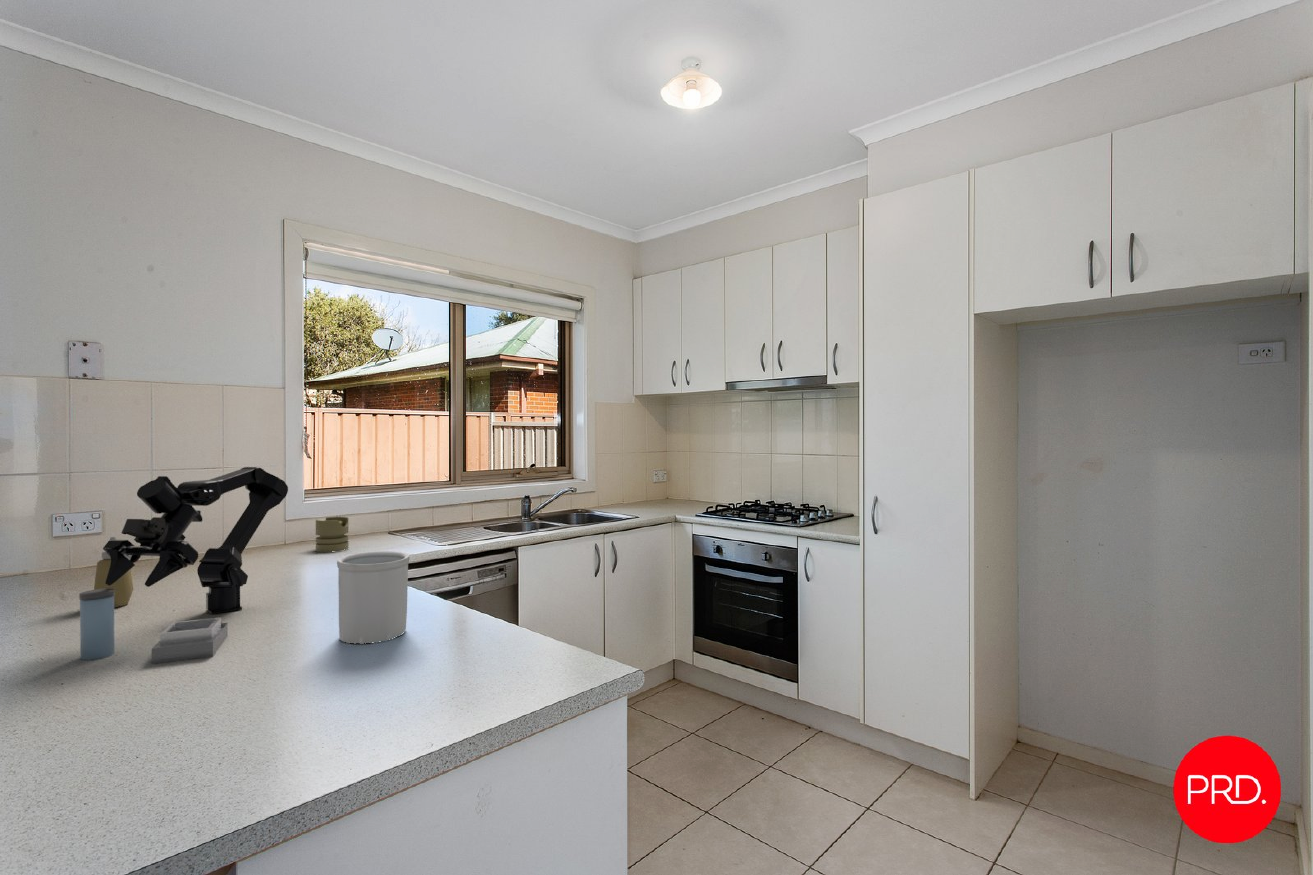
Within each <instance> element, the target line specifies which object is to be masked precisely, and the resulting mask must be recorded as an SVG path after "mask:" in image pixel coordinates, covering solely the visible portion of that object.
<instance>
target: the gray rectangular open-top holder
mask: <svg viewBox="0 0 1313 875" xmlns="http://www.w3.org/2000/svg"><path fill="white" fill-rule="evenodd" d="M228 626H229V625H228V622H222V617H213V618H212V617H211V618H202V619H191V620H182V621H173V622H171V623H170V624H169V625H168V626H167V627H166V628H165V629H164V630H162V632H161V633H160V634H159V641H158V642H157V643H156V644H155V645H153V646H152V648H151V664H152V665H154V664H155V665H156V664H161V663H163V662H164V663H170V662H171V661H172V662H178V660H180V661H185V659H188V660H194V659H195V660H196V659H203V658H210V657H211V658H212V657H214V656H215V654H216V653H217V651H218V650H219V649H220V647H221V646H222V645H223V643H224V642H225V641H226V639H227V638H228V637H229V636H228V634H229V633H228V632H229V629H228ZM164 663H163V664H164Z"/></svg>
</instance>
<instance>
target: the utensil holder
mask: <svg viewBox="0 0 1313 875" xmlns="http://www.w3.org/2000/svg"><path fill="white" fill-rule="evenodd" d="M409 563H410V554H409V553H406V552H402V551H397V550H396V551H395V550H393V551H392V550H382V551H381V550H377V551H364V552H356V553H350V554H347V555H346V554H345V555H344V556H340V557H339V558H337V560H336V565H337V568H338V575H337V576H338V579H337V580H338V584H337V585H338V632H339V633H338V634H339V640H340V641H341V642H343V643H345V642H346V643H345V644H350V643H354V644H353V645H357V644H356V643H360V644H359V645H367V644H366V643H372V642H379V641H385V642H387V641H386V640H389V639H392V638H394V637H396V636H399V635H401V634H402V633H403V632H405V633H406V631H405V630H406V629H407V617H408V615H407V614H408V585H409V584H408V581H409V579H408V577H409ZM392 640H393V639H392ZM389 641H390V640H389ZM364 643H365V644H364Z"/></svg>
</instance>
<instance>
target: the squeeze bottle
mask: <svg viewBox="0 0 1313 875" xmlns="http://www.w3.org/2000/svg"><path fill="white" fill-rule="evenodd" d="M110 540H118V538H117V536H111V537H109V541H110ZM110 564H111V558H110V556H109V555H108V554H107V553H106V551H105V550H103V551H102V552H101V559H100V560H99V561H97V562H96V567H95V577H94V587H93V590H96V589H108V588H110V589H115V595H114V608H118V607H119V606H120V607H124V606H125V605H128V604H129V602H130V599H131V597H132V595H133V592H134V583H133V575H132V568H131V569H130V570H129V571H128V572H126V573H125V574H124V575H123V576H122V577H121V578H119V579H118V580H117V581H116V582H115V583H113V584H112V585H110V586H108V585H106V584H105V582H106V578H107V575H108V572H109V568H110ZM120 607H119V608H120Z"/></svg>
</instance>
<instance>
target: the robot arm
mask: <svg viewBox="0 0 1313 875" xmlns="http://www.w3.org/2000/svg"><path fill="white" fill-rule="evenodd" d="M242 487H245V489H246V490H247V491H248V499H249V503H248V505H247V506H246V508H245V509H244V510H243V513H242V514H241V515H240V517H239V518H238V520H237V522H236V523H235V524H234V526H233V527H232V529H231V530H230V532H229V534H228V535H227V537H226V538H225V539H224V541H223V543H222V544H221V545H220V546H219V547H215V548H213V547H211V548H210V547H209V548H208V549H207V550H206V551H205V554H204V555H203V556H202V558H201V559H199V552H198V550H196V549H195V548H194V546H192V545H191V544H190V543H189V541H187V540H185V539H186V536H185V534H184V533H185V532H186V531H187V529H188V528H189V526H191V524H192V523H194V522H196V523H201V522H203V516H202V513H201V510H198V509H196V508H195V507H207V506H210V505H212V504H213V503H215V502H217V501H219V500H220V498H221V497H222V495H224V494H226V493H229V492H231V491H234V490H236V489H239V488H242ZM288 492H289V487H288V484H287V483H286V482H285V481H284V480H283V479H281V478H279V477H278V476H276V475H274V474H271V473H269V472H267V471H265V470H264V468H262V467H259V466H244V467H242V468H240V469H238V470H235V471H232V472H229V473H225V474H222V475H219V476H217V477H214V478H211V479H205V480H204V479H202V480H192V481H191V480H190V481H184V482H181V483H179V485H177V486H175V485H174V484H173V482H172V481H171V479H170V477H168V476H167V475H166V476H165V475H159V476H157V477H156V479H153V480H151V481H149V482H146V483H145V484H144V485H142V486H140V487H139V488H138V490H137V492H136V495H137V496H136V497H138V499H140V500H141V501H142V502H143V503H144V504H145V505H146V506H147V507H148V508H149V509H150V510H151V511H152V512H153V513H155V514H159V515H160V514H162V515H161V516H159V517H156V516H155V517H154V516H153V517H152V518H151V519H144V518H127V519H126V520H125V523H124V526H123V528H122V530H121V534H123V535H128V536H131V537H134V539H133V540H134V541H135V542H136V543H138V544H139V545H135V544H133V543H132V542H131V541H130V540H128V539H117V540H110V539H109V540H107V542H106V544H105V545H103V547H102V550H103V551H106V553H107V554H108V555H109V556H110V558H111V564H110V568H109V572H108V575H107V578H106V582H105V584H106V585H108V586H110V585H112V584H113V583H115V582H116V581H117V580H118V579H119V578H121V577H122V576H123V575H124V574H125V573H126V572H128V571H129V570H130V569H131V570H132V568H134V567H135V565H136V564H135V563H136V562H138V561H139V559H140V558H141V557H142V556H146V557H148V556H150V557H159V558H158V562H157V563H156V565H155V566H154V568H153V569H152V570H151V571H150V574H149V575H148V576H147V579H146V581H144V586H145V587H147V588H149V587H151V586H154V584H156V583H158V582H159V581H161V580H163V579H165V578H167V577H169V576H170V575H173V574H174V573H176V572H177V571H180V570H182V569H185V568H187V567H188V566H193V565H194V564H195V563H196V562H197V560H198V559H199V561H198V562H199V565H198V566H197V568H196V571H197V575H198V578H199V582H200V585H201V587H202V588H208V592H206V593H205V609H206V610H207V611H208V612H209V613H210V614H211V615H215V614H222V613H228V612H232V611H233V612H234V611H240V610H243V607H242V606H241V587H244V585H247V582H248V578H249V576H248V574H247V573H246V572H245V571H244V570H243V569H242V565H243V558H242V554H243V552H244V551H245V549H246V547H247V545H248V544H249V542H250V541H251V539H252V537H253V536H254V534H255V532H256V531H257V530H258V528H259V526H260V525H261V524H262V521H263V520H264V518H265V517H266V515H267V513H268V512H269V511H270V510H272V509H273V508H275V507H277V506H278V505H280V504H281V502H283V500H284V499H285V498H286V497H287V495H288ZM194 506H195V507H194Z"/></svg>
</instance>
